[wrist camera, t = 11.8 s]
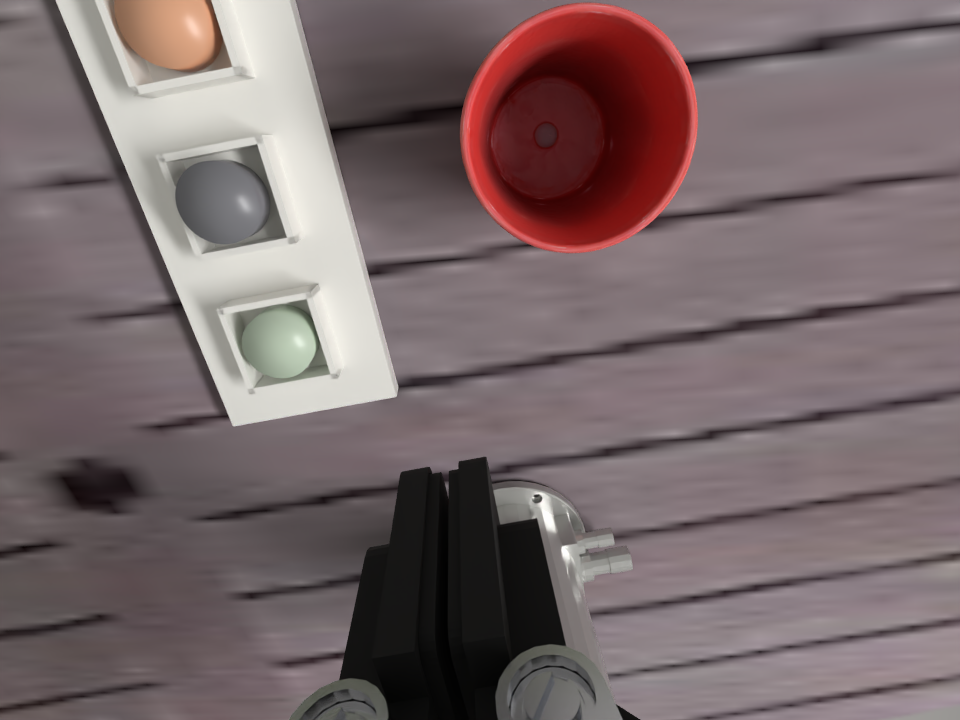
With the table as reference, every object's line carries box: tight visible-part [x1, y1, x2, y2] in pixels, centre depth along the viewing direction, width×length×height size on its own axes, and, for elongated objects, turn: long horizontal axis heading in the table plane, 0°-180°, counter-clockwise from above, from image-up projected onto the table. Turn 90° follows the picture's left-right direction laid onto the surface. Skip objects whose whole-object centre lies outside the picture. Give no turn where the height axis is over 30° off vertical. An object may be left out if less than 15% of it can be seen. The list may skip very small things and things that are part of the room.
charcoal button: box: [175, 160, 270, 244], centre depth 30 cm, size 4×4×2 cm
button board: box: [56, 0, 398, 427], centre depth 32 cm, size 12×30×4 cm, turn 10°
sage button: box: [242, 304, 320, 378], centre depth 34 cm, size 4×4×2 cm
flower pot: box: [460, 3, 698, 253], centre depth 28 cm, size 11×11×10 cm
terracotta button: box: [114, 0, 223, 72], centre depth 27 cm, size 4×4×2 cm
